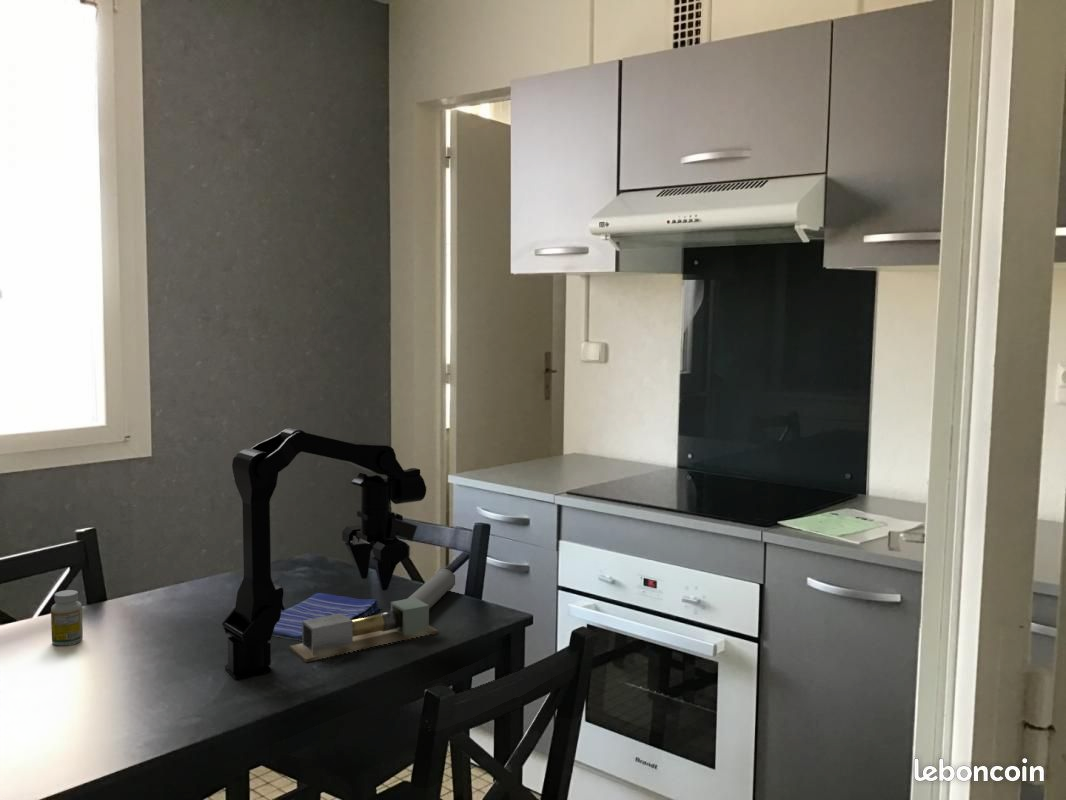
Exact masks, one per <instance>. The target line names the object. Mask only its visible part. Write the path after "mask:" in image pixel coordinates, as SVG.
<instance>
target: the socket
mask: <svg viewBox="0 0 1066 800" xmlns="http://www.w3.org/2000/svg"><path fill="white" fill-rule="evenodd" d="M408 598H409V597H408ZM408 598H405V599H400V600H394V601H390V611H399V610H401V611H403V626H402V627H398V628H397V629H395V630H396V631H398V632H400V633H401V634H403V635H404V636H405V635H409V634H414V633H419V632H423V631H428V630H429V626H430V620H429V619H430V609H429V605H427V604H426V603H424V602H422V601H420V600H418V599H416V598H409V599H408Z"/></svg>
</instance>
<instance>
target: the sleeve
mask: <svg viewBox="0 0 1066 800" xmlns="http://www.w3.org/2000/svg"><path fill="white" fill-rule="evenodd" d="M301 643H302V646H303V647H304V648H305V649H307V650H308V651H309V652H310V653H312V654H313V655H314V654H318V653H323V652H327V651H332V650H337V649H341V648H346V647H350V646H353V621H352V620H351V619H349V618H348V617H346V616H345V615H343V614H342V613H340V614H334V615H329V616H324V617H319V618H314V619H308V620H303V621H302V641H301Z"/></svg>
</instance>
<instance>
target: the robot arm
mask: <svg viewBox="0 0 1066 800" xmlns="http://www.w3.org/2000/svg"><path fill="white" fill-rule="evenodd" d="M301 452H303V453H306V454H310V455H316V456H321V457H325V458H328V459H329V458H331V459H335V460H339V461H344V462H346V463H348V464H350V465H351V466H354V467H355V468H359V469H360V470H363V471H366V472H370V473H373V474H375V475H369V476H368V475H367V474H366V473H363V472H359V473H358V475H357V476H356V477H355V478H353V479H352V481H351V482H350V484H351V485H352V486H356V487H360V510H356V516H357V517H359V518H360V524H358V525H348V526H346V527H345V528H344V529H343V530H342V533H341V534H342V535H341V539H342V540H341V541H343V542H345V543H344V545H345V546H346V548H347V550H348V552H349V554H350V555H351V558H352V560H353V562H354V564H355V567H356V569H357V571H358V574H359V576H360V578H361V579H363V580H364V579H367V578H368V574H369V569H370V568H369V567H370V562H371V561H370V559H371V552H372V554H373V557H372V562H373V564H374V565H373V566H374V568H375V573H376V576H377V579H378V583H379V586H380V590H381V591H388V589H389V586H390V583H391V580H392V578H393V576H394V572H395V569H396V567H397V565H398V564H399V563H400V562H402V561H405V560H406V559H407V558H409V557H410V556H411V555H410V553H411V546H410V545H409V544H408V543H407V542H405V541H403V540H401V539H399V538H403V539H407V540H408V541H414V537H415V535H416V531H417V529H418V525H416V524H414V523H411V522H409V521H406V520H404V516H403V515H402V514H399V513H396V512H394V511H391V502H392V503H393V504H394V505H400V504H406V503H407V504H408V503H415V502H421V501H423V500H424V498H425V497H426V495H427V485H426V483H425V480H424V478H423V476H422V475H421V469H420V468H416V467H411V468H407V469H403V467H402V465H401V464H400V463H399V460H398V459H397V455H396V452H395V449H394V448H393V447H391V446H390V445H387V444H382V443H381V444H380V443H377V442H372V441H354V442H353V441H344V440H343V441H342V440H339V439H336V438H335V439H334V438H330V437H326V436H321V435H319V434H312V433H308V432H305V431H304V430H301V429H297V428H292V427H287V428H285V429H284V430H283V429H282V430H281V431H280V432H278V433H277V434H275V435H274V436H272V437H269V438H267V439H264V440H263V441H260V442H259V443H257V444H255V445H254V446H252V447H251V448H245V449H242V450H240V451H239V452H238V453H237V454H236V455H235V456H234V457H233V459H232V463H231V467H232V473H233V477H234V483H235V485H236V489H237V491H238V493H239V496H240V497H241V502H242V541H243V542H242V543H243V544H242V545H243V546H242V547H243V548H242V549H243V550H242V552H243V553H242V554H243V580H241V583H240V585H239V588H238V589H237V593H236V600H235V606H234V608H233V609H232V611H231V612H230V614H229V615H228V616H227V617H226V618H225V620H224V621H223V622H222V623H221V625H222V628H223V630H224V633H225V634H226V635H229V636H228V637H227V664H225V665H224V669H225V670H226V671H227V672H228V673H229V674H230V675H231V676H232V677H233V679H235V680H241V679H245V678H249V677H253V676H258V675H262V674H267V673H271V672H272V668H271V663H272V659H271V658H272V657H271V656H272V653H271V650H272V649H271V647H272V646H271V645H272V643H270V642H269V641H271V639H272V638H273V636H272V634H273V631H274V627H275V625H276V623H277V622H278V621H279V620H280V617H281V612H282V611H284V610H286V609H285V607H284V602H283V600H284V587H282V586H281V585H278V584H276V583H274V581H273V579H272V553H271V549H272V548H271V546H272V545H271V499H272V497H273V495H274V492H275V491H276V488H277V485H278V478H279V473H280V472H281V471H283V470H284V469H286V468H287V467H289V465H290V464H291V463H292V461H294V459H295V458H296V457H297V456H298V455H299V454H301ZM376 474H377V475H376ZM381 475H382V476H384V477H387V478H384V477H382V476H381ZM397 537H399V538H397Z"/></svg>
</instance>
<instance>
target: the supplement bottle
mask: <svg viewBox="0 0 1066 800" xmlns="http://www.w3.org/2000/svg"><path fill="white" fill-rule="evenodd" d="M78 599H79V592H78V591H77V590H72V589H67V590H66V589H65V590H61V591H58V592H55V593H54V602H55V603H54V604H52V606H51V608H50V621H51V625H50V627H51V628H50V629H51V643H52V644H53V645H54V646H58V647H64V646H72V645H76V644H78V643H80V642H81V641H82V640H83V638H84V636H83V634H84V633H83V627H84V626H83V605H82V603H81V602H80V601H78Z"/></svg>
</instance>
